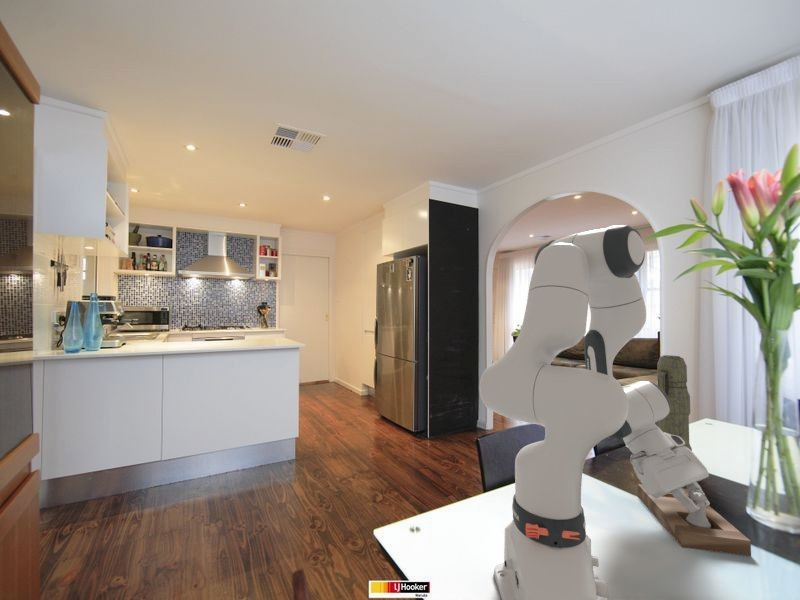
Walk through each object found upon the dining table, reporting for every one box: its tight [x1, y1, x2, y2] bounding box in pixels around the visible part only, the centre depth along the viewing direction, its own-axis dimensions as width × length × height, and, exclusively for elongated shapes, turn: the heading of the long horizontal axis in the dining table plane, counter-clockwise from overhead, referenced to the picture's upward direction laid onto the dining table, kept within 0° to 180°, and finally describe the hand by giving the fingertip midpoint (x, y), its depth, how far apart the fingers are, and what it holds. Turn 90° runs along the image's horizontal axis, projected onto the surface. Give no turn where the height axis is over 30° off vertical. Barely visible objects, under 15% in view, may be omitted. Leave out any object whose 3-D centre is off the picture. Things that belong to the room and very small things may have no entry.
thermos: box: [656, 354, 693, 452], centre depth 115 cm, size 9×12×35 cm
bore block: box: [637, 483, 752, 557], centre depth 84 cm, size 22×12×3 cm, turn 167°
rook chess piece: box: [686, 489, 711, 528], centre depth 80 cm, size 4×4×8 cm
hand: (701, 508), depth 79 cm, fingers closed on rook chess piece, 3 cm apart
